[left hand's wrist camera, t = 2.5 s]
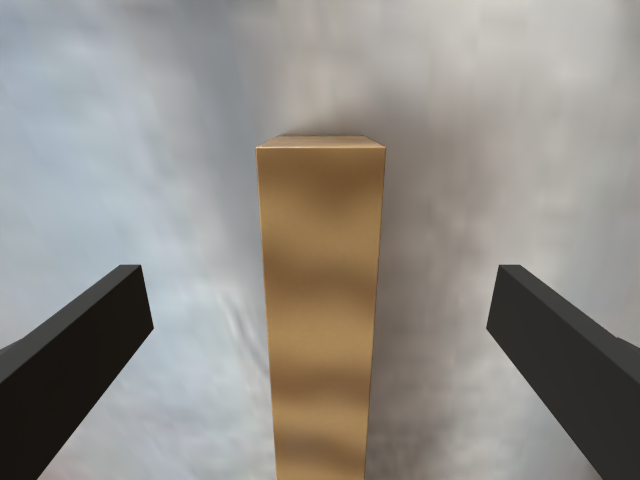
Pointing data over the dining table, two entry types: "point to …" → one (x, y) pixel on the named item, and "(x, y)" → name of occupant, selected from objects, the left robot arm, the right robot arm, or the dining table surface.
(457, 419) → the dining table surface
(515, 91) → the dining table surface
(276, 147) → the post
